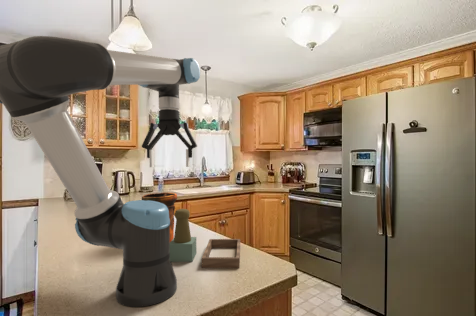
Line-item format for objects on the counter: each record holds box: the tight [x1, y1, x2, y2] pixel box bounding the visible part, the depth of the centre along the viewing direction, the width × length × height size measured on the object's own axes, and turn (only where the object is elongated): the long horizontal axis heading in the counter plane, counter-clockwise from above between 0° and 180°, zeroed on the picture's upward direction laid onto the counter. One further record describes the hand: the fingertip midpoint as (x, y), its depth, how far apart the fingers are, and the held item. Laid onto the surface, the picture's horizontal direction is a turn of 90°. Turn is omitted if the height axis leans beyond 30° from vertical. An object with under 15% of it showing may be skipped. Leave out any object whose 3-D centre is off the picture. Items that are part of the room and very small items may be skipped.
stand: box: [170, 236, 197, 263], centre depth 95 cm, size 8×8×6 cm
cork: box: [174, 208, 192, 243], centre depth 94 cm, size 6×6×11 cm
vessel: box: [141, 191, 178, 242], centre depth 113 cm, size 14×14×20 cm
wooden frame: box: [201, 238, 241, 269], centre depth 95 cm, size 20×12×3 cm, turn 179°
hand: (169, 167), depth 101 cm, fingers open, 13 cm apart
